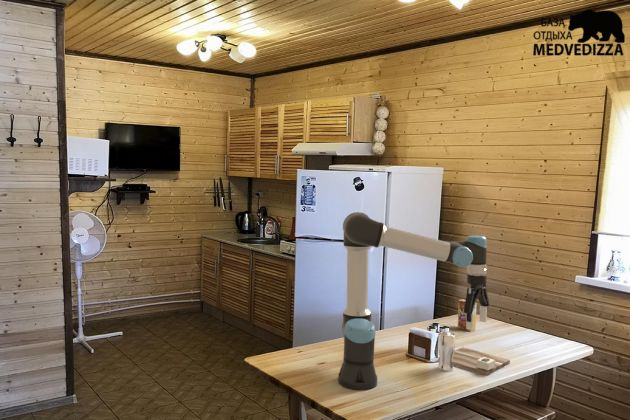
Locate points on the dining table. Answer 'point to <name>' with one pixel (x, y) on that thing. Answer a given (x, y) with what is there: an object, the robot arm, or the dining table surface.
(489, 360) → the cream block with hole
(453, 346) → the clear glass bottle
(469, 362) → the board
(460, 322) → the candy box
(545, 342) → the dining table surface
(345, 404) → the dining table surface
